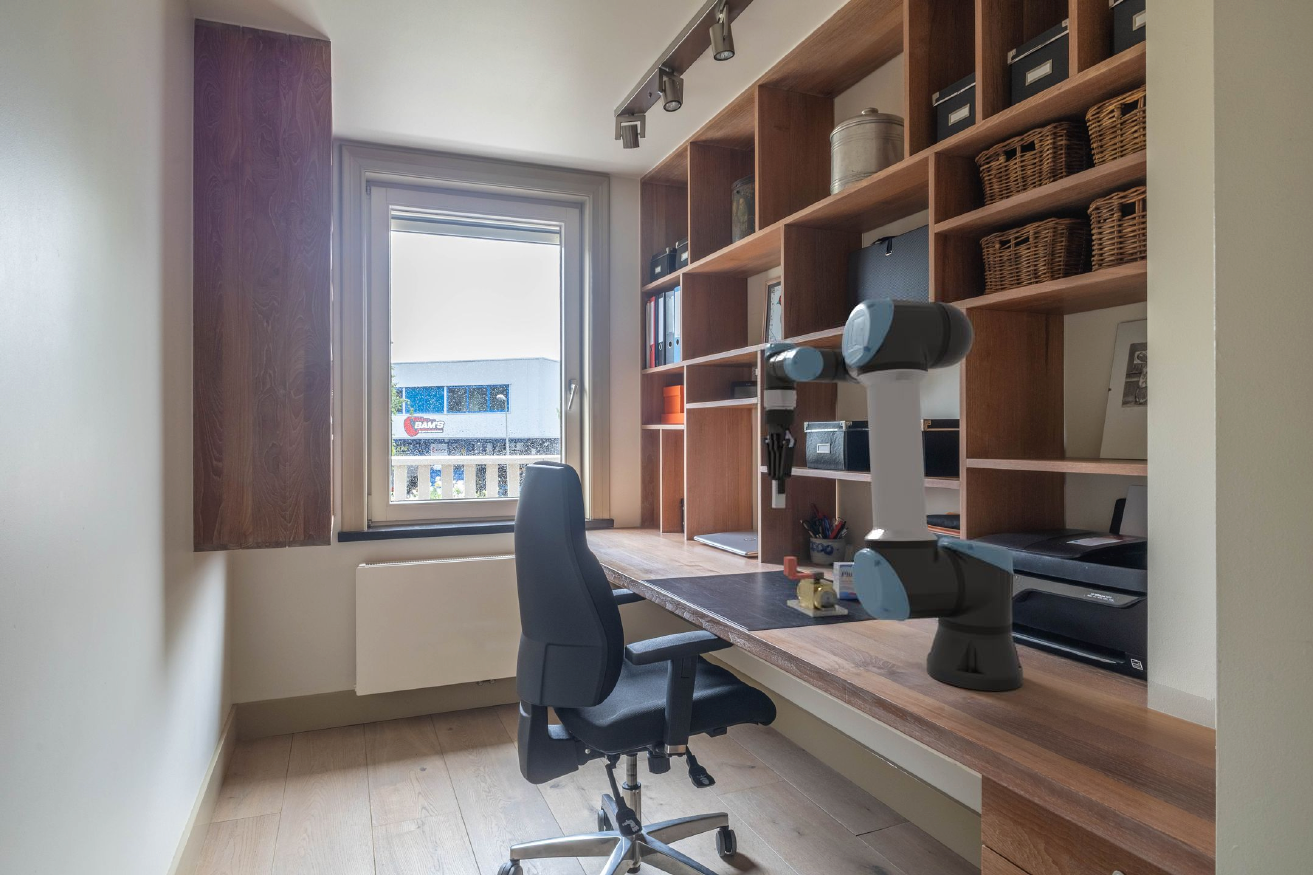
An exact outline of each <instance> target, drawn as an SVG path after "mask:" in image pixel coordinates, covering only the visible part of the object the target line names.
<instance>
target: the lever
mask: <svg viewBox="0 0 1313 875" xmlns="http://www.w3.org/2000/svg"><path fill="white" fill-rule="evenodd" d="M797 571H798V557H795V556H784V557H783V575H785V576H787V578H788V579H790V580H803V579H816V580H821V579H823V580H825V572H824V571H820V570H810V572H803V573H798V572H797Z"/></svg>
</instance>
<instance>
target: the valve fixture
mask: <svg viewBox="0 0 1313 875" xmlns="http://www.w3.org/2000/svg"><path fill="white" fill-rule="evenodd" d="M833 586H834V582H831V581H828V580H825V579H821V580H816V579H811V578H808V579H800V582H799V583H798V584H797V587H796V588H797V589H796V596H797V598H798V599H788V600H786V605H787V606H789V607H791V608H794V609H796V610H797V611H799V612H801V613H803V614H805V615H808V616H809V617H812V618H814V617H815V618H817V617H828V616H843V615H848V613H849V612H848V609H846V608H845V607H842V606H840V605H837V603H838V599H839V598H838V596H837V592H836V591H835V589H833Z"/></svg>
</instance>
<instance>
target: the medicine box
mask: <svg viewBox="0 0 1313 875" xmlns="http://www.w3.org/2000/svg"><path fill="white" fill-rule="evenodd" d="M853 562H854V561H853ZM853 562H852V561H841V562H840V561H836V562H835V561H834V562H833V584H834V586H833V589H835V591H836V592H837V596H838V599H839V600H859V599H858V597H857V594H856V591H855V588H854V584H853V579H852V563H853Z"/></svg>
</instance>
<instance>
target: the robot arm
mask: <svg viewBox="0 0 1313 875" xmlns="http://www.w3.org/2000/svg"><path fill="white" fill-rule="evenodd" d="M974 335H975V333H974V328H973V325H972V323H971V320H970V319H969V317H968V316H967V314H965V312H964V311H962V310H961V309H960V308H958V307H957V306H954V305H952V304H950V303H946V302H943V301H922V300H921V301H920V300H907V299H906V300H905V299H893V298H888V297H886V298H879V299H878V298H877V299H876V298H873V299H872V298H871V299H866V300H863V301H861V302H860V303H859V304H858V305H857V306H855V307H854V308H853V309H852V311H851V313H850V315H849V317H848V320H846V322H845V326H844V329H843V332H842V338H841V341H842V342H841V349H834V348H833V349H831V348H814V347H813V346H809V345H807V346H802V345H801V346H796V344H794V343H791V342H774V343H768V344H767V345H765V350H764V357H763V362H764V390H763V407H764V408H765V409H764V411H763V424H764V425H766V426H769V428H768V431H767V432H768V434H767V435H768V436H767V437H766V436H765V437H763V438H762V439H763V441H762V442H763V445H764V450H765V452H764V453H765V462H766V472H767V473H766V474H767V477H769V478H770V479H771V480H772V485H771V486H772V490H771V493H772V494H771V495H772V497H771V498H772V499H771V508H774V509H784V508H785V509H786V481H788V479H791V478H792V470H793V464H794V456H795V449H796V446H797V443H798V439H797V438H794V437H792V429H791V426H795V425H796V424H797V421H796V420H797V411H796V409H794V408H796V405H797V398H798V396H797V382H799V383H800V382H802V383H803V382H805V383H808V382H809V383H842V384H843V383H847V384H856V385H858V384H861V385H862V386H864V388H865V389H866V400H867V401H866V403H867V421H868V422H867V423H868V426H867V427H868V442H869V444H868V445H869V464H870V467H869V468H870V485H871V487H870V488H871V506H872V507H871V508H872V530H870V532H869V533H867V535H866V536H865V537H864V548H862V549H860V550H859V551H857V552H856V553H855V555H854V557H853V563H852V579H853V584H854V588H855V591H856V594H857V597H858V599H857V600H858V601H859V602H860V603H861V605H862V607H863V610H865V611H866V612H867V613H868V614H869V615H870V616H872V617H873V618H875V619H878V620H880V621H881V620H882V621H896V622H897V621H898V622H905V621H907V620H908V621H909V620H924V619H938V620H937V629H936V633H935V634H934V638H933V641H932V644H931V648H930V651H929V652H928V654H927V656H926V672H927V674H928V675H929V676H931V677H932V678H933V679H936V680H937V681H939V682H942V683H945V684H948V685H950V686H956V687H960V688H962V689H963V688H965V689H970V690H976V691H985V692H986V691H989V692H993V691H994V692H1003V691H1011V690H1014V689H1018V688H1020V687H1022V686H1023V683H1024V668H1023V666H1022V664H1021V662H1020V658H1019V654H1018V650H1017V647H1016V643H1015V641H1014V637H1013V595H1014V590H1013V589H1014V588H1013V587H1014V576H1015V572H1014V565H1013V564H1014V563H1013V562H1014V561H1013V555H1012V554H1013V553H1011V551H1010V550H1009V549H1008V548H1006V547H1004V546H1001V545H997V544H992V543H988V542H982V541H976V540H971V539H964V538H963V539H962V538H956V537H955V538H954V537H947V536H945V537H941V538H939V542H938V536H936V535H935V534H934V533H933V532H932V531H931V530H930V529H929V528H928V524H927V523H928V522H927V520H928V519H927V504H926V488H925V486H926V484H925V468H924V466H925V465H924V450H923V449H924V448H923V447H924V446H923V434H922V432H923V431H922V430H923V429H922V415H921V414H922V413H921V410H922V409H921V396H920V395H921V394H920V386H921V384H922V383H923V382H924V380H925V379H926V378H927V377H928V376H929V370H937V369H945V368H951V367H952V366H955V365H958V364H959V363H960V362H962V361H963V360H964V359H965V358H966V357H967V355H968V354H969V352H970V351H971V349H972V347H973V344H974Z"/></svg>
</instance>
